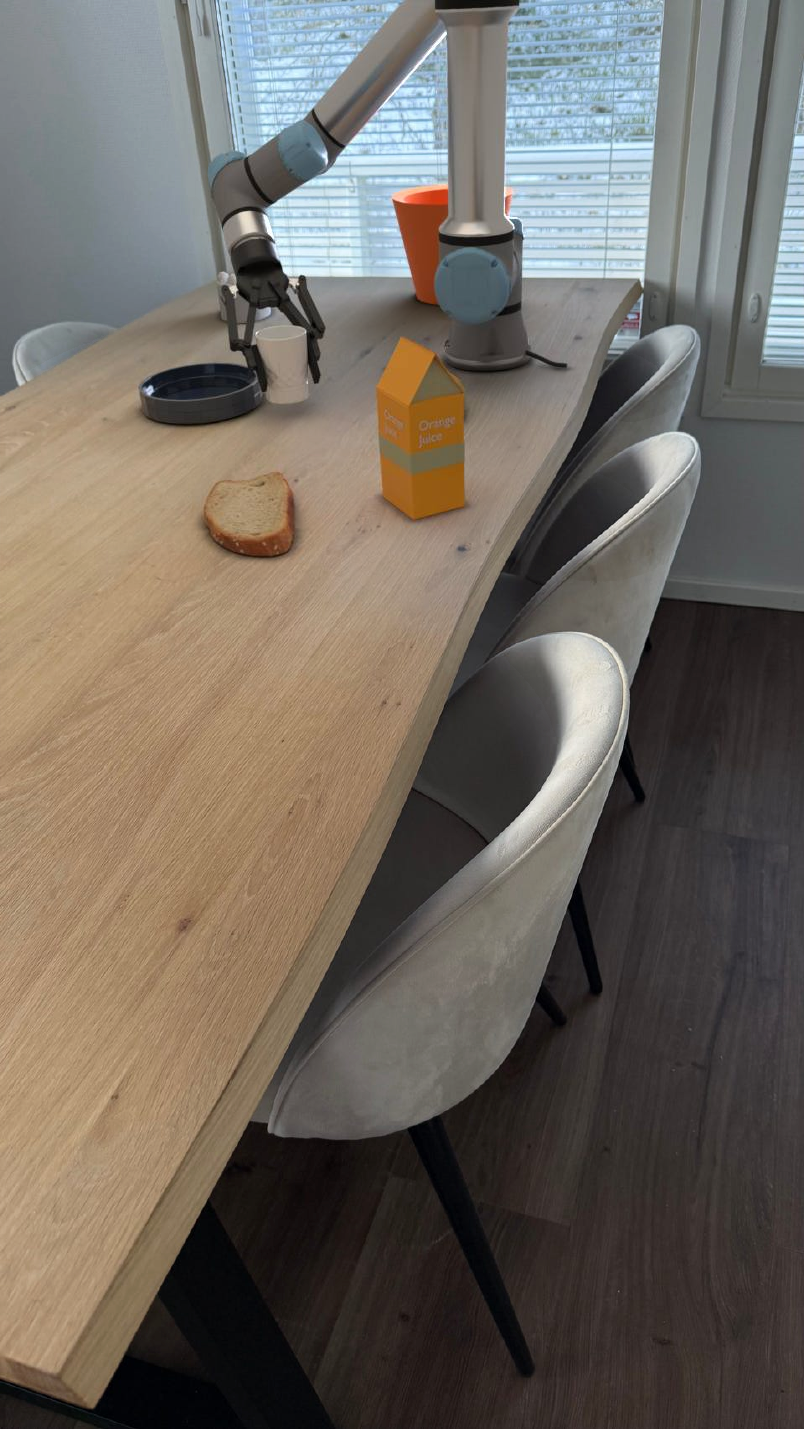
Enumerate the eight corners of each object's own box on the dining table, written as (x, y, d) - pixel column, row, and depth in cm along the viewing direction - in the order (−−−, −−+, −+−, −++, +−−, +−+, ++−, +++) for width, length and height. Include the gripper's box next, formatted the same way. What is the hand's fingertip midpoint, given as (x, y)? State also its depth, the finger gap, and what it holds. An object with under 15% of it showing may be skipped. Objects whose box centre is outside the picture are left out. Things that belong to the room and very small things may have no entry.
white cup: (263, 391, 161) (255, 327, 155) (312, 387, 162) (306, 323, 156) (262, 407, 155) (253, 341, 149) (312, 403, 155) (306, 337, 149)
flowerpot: (516, 307, 205) (518, 201, 193) (395, 313, 206) (390, 207, 194) (507, 279, 225) (509, 180, 213) (397, 284, 226) (392, 187, 214)
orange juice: (412, 520, 125) (405, 358, 114) (381, 496, 132) (371, 341, 120) (466, 505, 128) (464, 346, 116) (433, 483, 134) (428, 329, 123)
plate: (286, 400, 165) (283, 376, 163) (191, 435, 154) (186, 409, 151) (213, 378, 176) (210, 355, 174) (120, 409, 165) (114, 385, 163)
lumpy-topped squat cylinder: (271, 305, 216) (266, 262, 211) (269, 321, 206) (263, 276, 200) (223, 308, 216) (217, 266, 211) (219, 325, 205) (212, 280, 200)
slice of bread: (271, 563, 118) (267, 534, 115) (159, 533, 126) (153, 505, 124) (356, 505, 130) (354, 478, 127) (249, 481, 138) (245, 455, 136)
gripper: (312, 258, 163) (350, 385, 160) (187, 274, 158) (224, 406, 155) (318, 228, 156) (358, 361, 153) (188, 244, 150) (227, 381, 148)
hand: (291, 383), depth 154 cm, fingers closed on white cup, 8 cm apart
